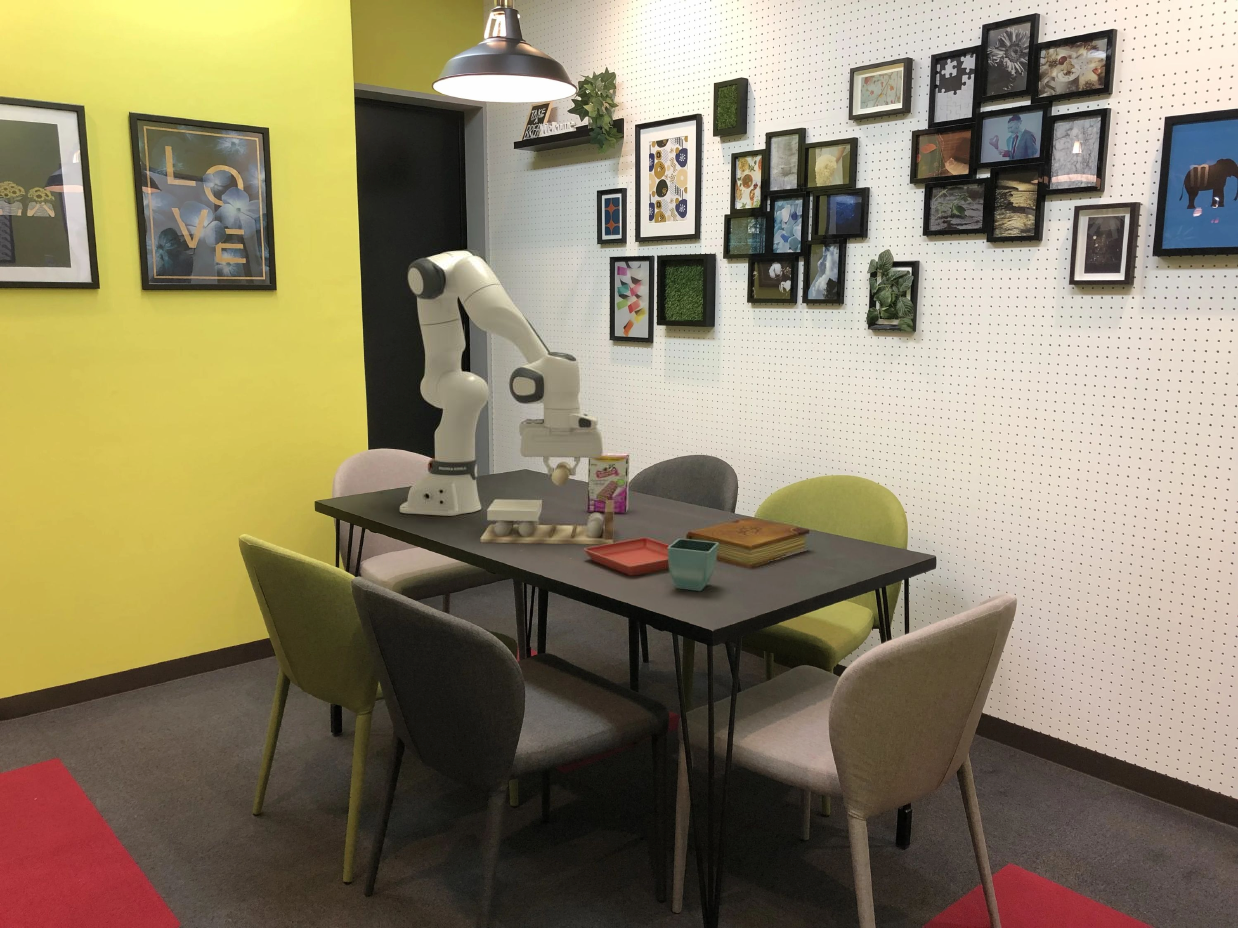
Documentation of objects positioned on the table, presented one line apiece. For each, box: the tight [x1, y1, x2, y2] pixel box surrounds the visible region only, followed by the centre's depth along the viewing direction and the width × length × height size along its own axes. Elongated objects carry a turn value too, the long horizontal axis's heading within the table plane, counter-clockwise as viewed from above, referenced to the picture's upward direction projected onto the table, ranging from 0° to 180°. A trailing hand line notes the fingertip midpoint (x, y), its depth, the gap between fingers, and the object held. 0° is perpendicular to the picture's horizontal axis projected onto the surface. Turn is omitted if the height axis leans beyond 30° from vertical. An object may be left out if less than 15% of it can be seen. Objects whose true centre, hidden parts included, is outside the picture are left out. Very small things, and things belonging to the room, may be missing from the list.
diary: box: [685, 517, 810, 569], centre depth 220 cm, size 23×19×6 cm
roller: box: [551, 461, 572, 486], centre depth 230 cm, size 4×11×4 cm, turn 178°
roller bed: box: [480, 500, 615, 545], centre depth 232 cm, size 32×15×8 cm, turn 89°
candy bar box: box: [587, 452, 630, 514], centre depth 261 cm, size 11×5×16 cm, turn 84°
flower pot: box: [667, 538, 719, 592], centre depth 190 cm, size 9×9×9 cm
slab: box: [486, 499, 543, 522], centre depth 232 cm, size 12×13×2 cm
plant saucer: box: [583, 537, 671, 576], centre depth 208 cm, size 18×18×3 cm
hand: (561, 475), depth 230 cm, fingers closed on roller, 4 cm apart
